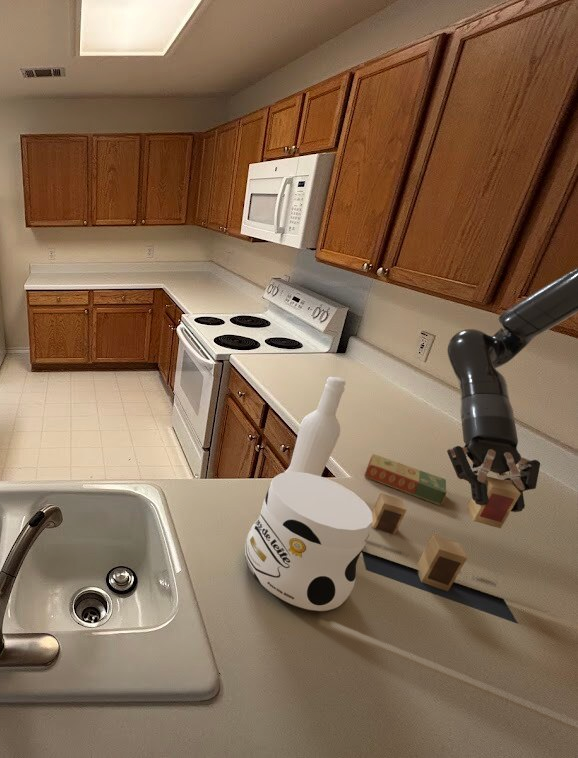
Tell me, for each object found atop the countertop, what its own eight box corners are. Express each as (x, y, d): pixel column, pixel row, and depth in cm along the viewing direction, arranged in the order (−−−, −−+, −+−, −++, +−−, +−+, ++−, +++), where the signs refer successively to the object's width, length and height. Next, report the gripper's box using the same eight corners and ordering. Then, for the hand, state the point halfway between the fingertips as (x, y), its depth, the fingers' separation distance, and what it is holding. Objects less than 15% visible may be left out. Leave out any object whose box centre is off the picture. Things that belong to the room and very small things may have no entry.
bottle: (319, 491, 101) (362, 379, 90) (311, 506, 95) (356, 388, 84) (285, 477, 106) (321, 369, 95) (275, 490, 100) (313, 376, 89)
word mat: (495, 591, 76) (497, 588, 76) (516, 626, 69) (518, 623, 69) (358, 545, 84) (359, 542, 84) (364, 572, 78) (366, 569, 77)
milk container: (222, 569, 76) (245, 489, 69) (266, 530, 86) (290, 457, 80) (322, 642, 64) (362, 553, 57) (358, 586, 74) (395, 506, 68)
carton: (367, 465, 115) (372, 452, 113) (440, 492, 105) (447, 478, 104) (363, 477, 109) (369, 463, 107) (440, 506, 99) (448, 492, 98)
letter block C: (491, 516, 79) (510, 481, 76) (501, 529, 76) (521, 493, 73) (465, 509, 81) (483, 475, 78) (473, 521, 78) (492, 486, 75)
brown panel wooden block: (441, 575, 77) (459, 543, 74) (448, 592, 74) (467, 558, 71) (415, 567, 79) (432, 535, 76) (421, 582, 76) (439, 549, 73)
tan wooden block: (388, 528, 90) (402, 499, 87) (392, 540, 87) (407, 510, 84) (367, 522, 92) (380, 492, 89) (370, 533, 88) (384, 503, 85)
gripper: (458, 408, 80) (467, 495, 74) (548, 422, 77) (566, 515, 70) (433, 420, 87) (440, 501, 80) (514, 434, 83) (528, 519, 77)
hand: (498, 507), depth 75 cm, fingers closed on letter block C, 4 cm apart
